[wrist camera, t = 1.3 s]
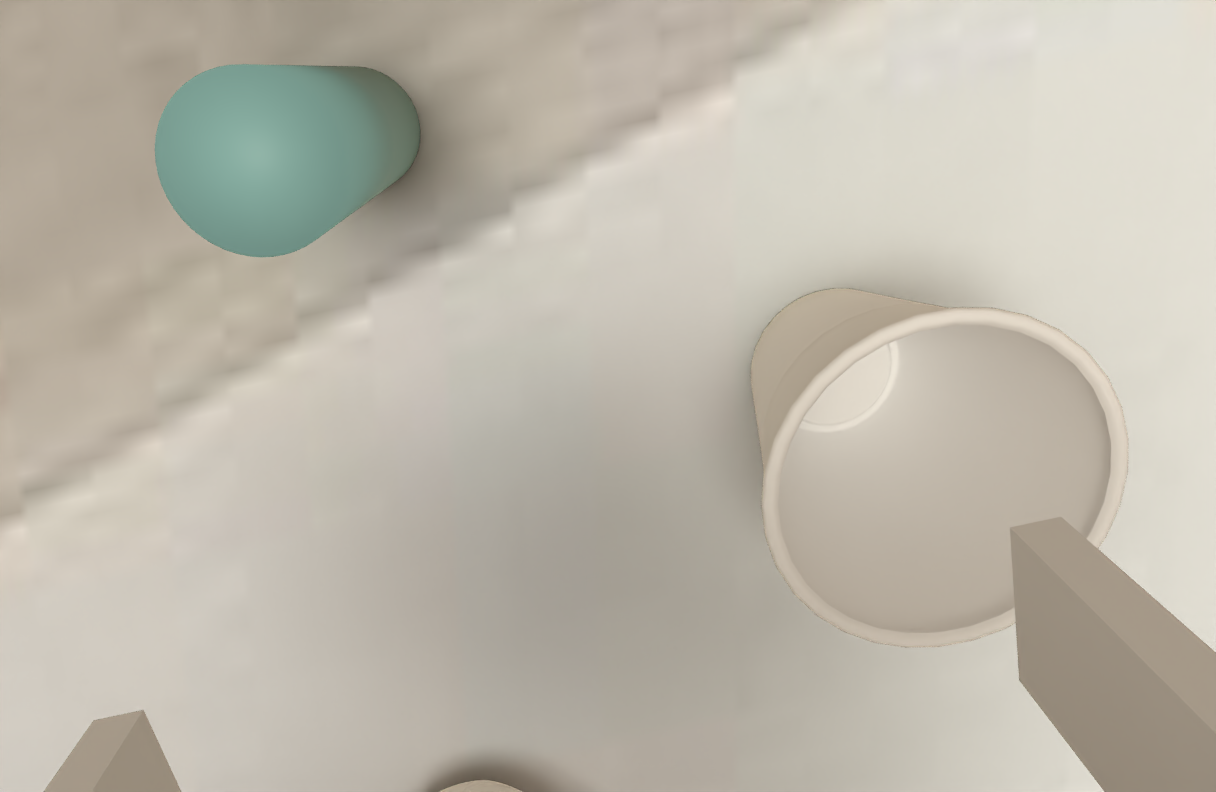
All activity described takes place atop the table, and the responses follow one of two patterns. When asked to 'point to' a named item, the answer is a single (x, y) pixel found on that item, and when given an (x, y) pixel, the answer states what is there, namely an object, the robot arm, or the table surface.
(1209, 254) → the table surface
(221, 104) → the plug
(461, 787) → the beige round lump
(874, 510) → the cup
